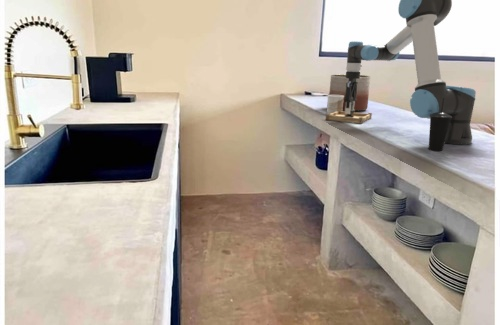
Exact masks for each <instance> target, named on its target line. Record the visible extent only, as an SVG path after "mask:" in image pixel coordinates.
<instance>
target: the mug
mask: <svg viewBox="0 0 500 325" xmlns="http://www.w3.org/2000/svg"><path fill="white" fill-rule="evenodd" d="M326 103H327V105H326V114H331V113H334V112H336V111H337V110H341V111H343V105H344V96H343V95H329V94H328V95H327V102H326Z"/></svg>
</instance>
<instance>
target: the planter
mask: <svg viewBox="0 0 500 325" xmlns="http://www.w3.org/2000/svg"><path fill="white" fill-rule="evenodd" d="M329 81H330V83H329V85H330V86H329V92H328V95H343V96H344V101H345V94H346V83H348V81H349V78H346V74H331V75H330V80H329ZM356 82H358V84H357V95H356V101H355V104H354V110H355V111H354V113H360V112H363V111H365V110H367V109H368V105H369V95H370V93H369V92H370V84H371V83H370V82H371V76H370V75H365V74H363V75H361V74H360V78H359V79H356ZM345 108H346V102H344V105H343V111H344V112H345Z"/></svg>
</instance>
